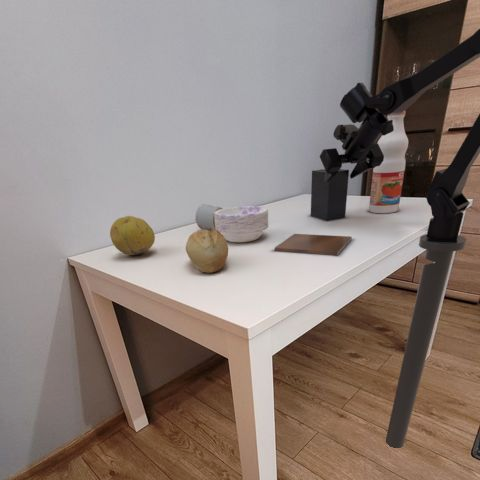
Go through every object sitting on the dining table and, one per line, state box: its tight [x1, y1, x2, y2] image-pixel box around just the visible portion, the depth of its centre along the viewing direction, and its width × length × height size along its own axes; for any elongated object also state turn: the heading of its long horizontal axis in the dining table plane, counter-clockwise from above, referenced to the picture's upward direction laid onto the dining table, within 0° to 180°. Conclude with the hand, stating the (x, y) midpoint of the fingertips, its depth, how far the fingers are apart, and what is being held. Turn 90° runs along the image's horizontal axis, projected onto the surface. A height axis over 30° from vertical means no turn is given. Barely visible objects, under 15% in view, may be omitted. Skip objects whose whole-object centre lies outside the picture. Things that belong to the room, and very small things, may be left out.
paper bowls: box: [214, 205, 269, 243], centre depth 97 cm, size 15×15×8 cm
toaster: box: [310, 168, 350, 222], centre depth 112 cm, size 12×7×14 cm, turn 22°
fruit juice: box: [368, 109, 409, 214], centre depth 108 cm, size 9×9×28 cm
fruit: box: [109, 215, 156, 256], centre depth 91 cm, size 11×12×10 cm
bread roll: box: [185, 228, 229, 274], centre depth 79 cm, size 10×15×8 cm, turn 17°
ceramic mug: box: [195, 203, 224, 231], centre depth 110 cm, size 11×8×8 cm
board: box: [274, 233, 352, 256], centre depth 88 cm, size 16×14×1 cm
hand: (338, 179), depth 105 cm, fingers open, 9 cm apart
